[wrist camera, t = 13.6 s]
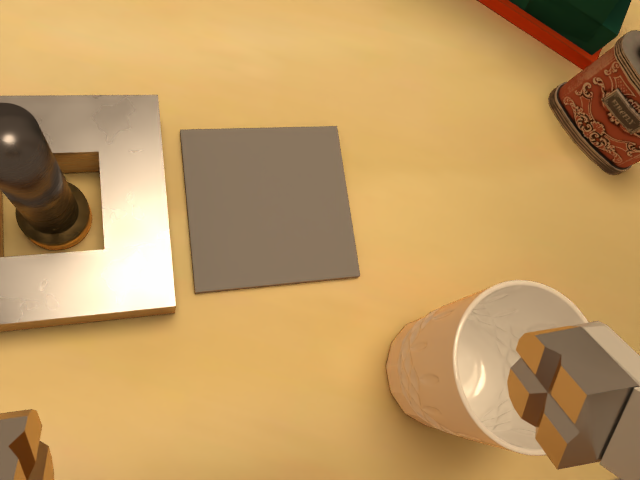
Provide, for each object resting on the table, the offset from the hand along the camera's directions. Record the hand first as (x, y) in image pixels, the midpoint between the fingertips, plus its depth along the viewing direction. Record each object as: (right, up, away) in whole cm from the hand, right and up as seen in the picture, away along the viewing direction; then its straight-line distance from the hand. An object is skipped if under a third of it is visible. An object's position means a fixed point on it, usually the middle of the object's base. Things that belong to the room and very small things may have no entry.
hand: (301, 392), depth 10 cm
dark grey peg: (-14, +4, +22) cm, 27 cm away
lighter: (+21, +11, +34) cm, 41 cm away
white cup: (+8, -6, +26) cm, 28 cm away
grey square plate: (-3, +5, +26) cm, 26 cm away
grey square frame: (-14, +4, +22) cm, 27 cm away
